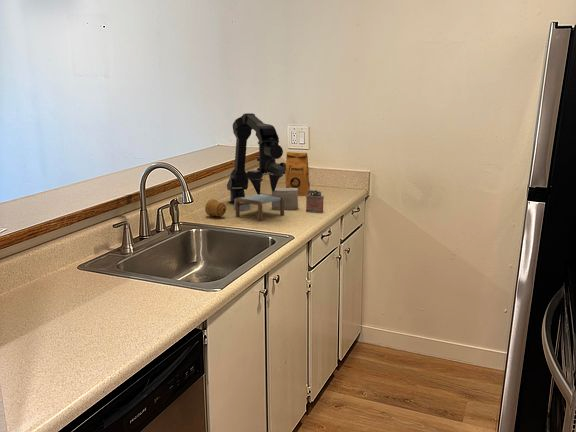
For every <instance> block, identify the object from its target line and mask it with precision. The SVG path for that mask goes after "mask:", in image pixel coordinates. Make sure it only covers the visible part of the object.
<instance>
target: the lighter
mask: <svg viewBox="0 0 576 432" xmlns="http://www.w3.org/2000/svg"><path fill="white" fill-rule="evenodd" d="M308 193H310V194H308V195H306V196H305V198H306V199H305V200H306V203H305V206H306V207H305V209H306V210H305V212H306V213H313V214H323V213H324V198H325V196H324V195H322V191H321V190H318V189H315V190H314V189H310V190H308Z"/></svg>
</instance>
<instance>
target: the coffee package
mask: <svg viewBox="0 0 576 432" xmlns="http://www.w3.org/2000/svg"><path fill="white" fill-rule="evenodd" d="M285 164H286V171H285V188H298V197H301V196H302V197H306V195H310V194H311V193H308V190H311V189H310V187H311V186H310V184H311V183H310V168H309V157H308V153H307V152H292V151H291V152H290V151H287V152H286V160H285Z"/></svg>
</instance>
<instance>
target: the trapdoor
mask: <svg viewBox="0 0 576 432" xmlns="http://www.w3.org/2000/svg"><path fill="white" fill-rule="evenodd" d="M264 194H265V193H263V194H260V195H258V194H257V193H256V194H253V195H249V196H245V197H243V198H242V199H247V200H253V201H258V202H262V205H265V204H269V203H272V202H274V201H278V200H281V197H275V196H269V195H270V194H269V195H264Z"/></svg>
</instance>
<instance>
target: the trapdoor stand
mask: <svg viewBox="0 0 576 432" xmlns="http://www.w3.org/2000/svg"><path fill="white" fill-rule="evenodd" d="M260 194H264V195H269V196H275V195H272V194H270V193H269V194H268V193H262V192H260ZM275 197H280V196H275ZM240 202H241V203H240ZM246 204H250V205H254V206H257V216H258V217H257V222H260V223H261V222H263V204H262V202H258V201H253V200H247V199H242V198H236V210H235V217H237V218H239V217H240V216H241V213H240V212H241V211H240V206H242V205H246ZM279 212H280V213H279V215H280V217H282V216H285V209H284V197H281V200H280V209H279Z"/></svg>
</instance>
